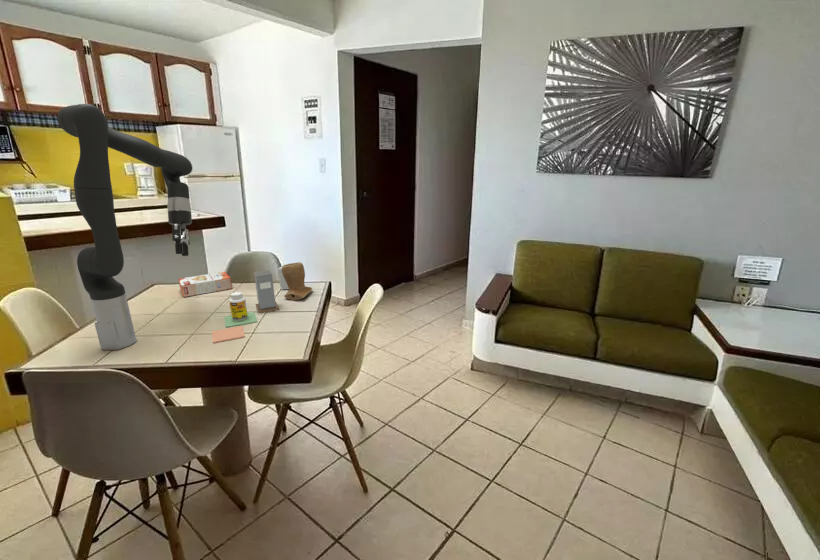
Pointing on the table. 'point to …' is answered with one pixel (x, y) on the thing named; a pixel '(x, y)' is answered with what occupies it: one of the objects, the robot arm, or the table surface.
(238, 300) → the supplement bottle
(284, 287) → the small box
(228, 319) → the green pad
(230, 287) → the cracker box
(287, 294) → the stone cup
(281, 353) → the table surface
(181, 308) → the table surface
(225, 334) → the terracotta pad
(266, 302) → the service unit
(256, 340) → the table surface
